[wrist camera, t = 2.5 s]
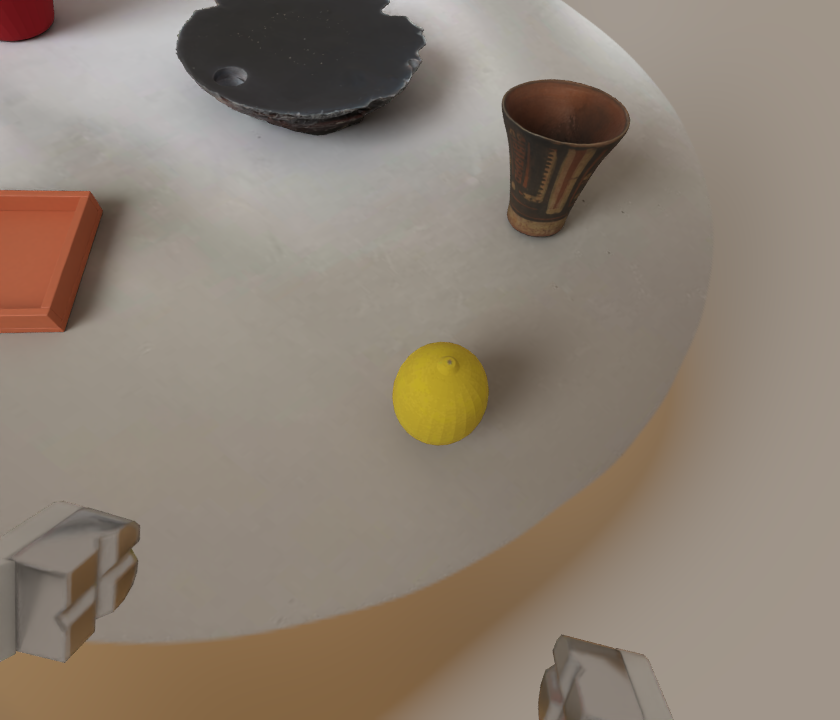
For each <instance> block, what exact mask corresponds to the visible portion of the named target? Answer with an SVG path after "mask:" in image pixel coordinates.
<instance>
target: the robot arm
mask: <svg viewBox="0 0 840 720" xmlns="http://www.w3.org/2000/svg"><path fill="white" fill-rule="evenodd" d="M139 541H140V525H139V524H138V523H136V522H135V521H133V520H129V519H126V518H122V517H119V516H116V515H112V514H109V513H105V512H102V511H98V510H95V509H92V508H88V507H87V508H86V507H83V506H79V505H76V504H73V503H69V502H66V501H59V502H54V503H52V504H51V505H49V506H47V507H46V508H44V509H43V510H41V511H40V512H38V513H37V514H35V515H33V516H32V517H30V518H29V519H27V520H26V521H24V522H23V523H21V524H19V525H18V526H16V527H15V528H13V529H12V530H10V531H9V532H7V533H5V534H4V535H2V536H1V537H0V662H1V661H3V660H5V659H7V658H8V657H10V656H12V655H14V654H15V653H16V651H19V652H23V653H27V654H31V655H35V656H39V657H43V658H48V659H52V660H56V661H60V662H64V663H65V662H66V661H67V660H68V659H69V658H70V657H71V656H72V655H73V654H74V653H75V652H76V650H78V648H79V647H80V646H81V645H82V644H83V643H84V642H85V641H86V640H87V639H88V638H89V637H90V636H91V635H92V634H93V633H94V632H95V620H96V619H98V618H100V617H103V616H105V615H108V614H110V613H112V612H114V610H115V609H116V608H117V607H118V606H119V605H120V604H121V603H122V602H123V600H124V599H125V597H126V596H127V594H128V592H129V590H130V589H131V587H132V585H133V583H134V580H135V577H136V573H137V567H138V559H137V557H136V556H135V554H134V552H133V550H132V549H131V548H132V547H133V546H134V545H135V544H136V543H137V542H139ZM553 655H554V661H555V664H554V665H553V666H551V667H550V668H548V669H546V671H545V674H544V676H543V680H542V682H541V687H540V694H539V702H538V704H539V705H538V706H539V708H538V710H539V720H673V717H672V715H671V712H670V710H669V708H668V705H667V703H666V700H665V698H664V695H663V693H662V691H661V688H660V686H659V683H658V681H657V679H656V676H655V674H654V671H653V669H652V667H651V664H650V662H649V660H648V659H647V658H646V657H645V656H644V655H643V654H639V653H635V652H630V651H626V650H622V649H618V648H616V649H614V648H612V647H608V646H604V645H600V644H596V643H592V642H589V641H584V640H581V639H577V638H573V637H569V636H565V635H561V636H560V637H559V638H558V639H557V641H556V644H555V646H554V649H553Z"/></svg>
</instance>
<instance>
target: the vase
mask: <svg viewBox="0 0 840 720" xmlns="http://www.w3.org/2000/svg"><path fill="white" fill-rule="evenodd" d="M53 21H54V6H53V0H0V40H2V41H17V40H24V39H28V38H32V37H35V36H37V35H39V34H42V33H43V32H45V31H46V30H47V29H48V28H49V27H50V26H51V25H52V23H53Z"/></svg>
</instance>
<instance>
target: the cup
mask: <svg viewBox="0 0 840 720" xmlns="http://www.w3.org/2000/svg"><path fill="white" fill-rule="evenodd" d="M502 113H503V119H504V123H505V128H506V132H507V137H508V143H509V153H510V203H509V207H508V211H507V217H508V220H509V222H510V224H511V225H512V226H513V228H515V229H516V230H517V231H519V232H521V233H524V234H526V235H530V236H550V235H553V234H556V233H557V232H559V231H560V230H561V229H562V227H563V226H564V224H565V221H566V218H567V216H568V214H569V212H570V210H571V208H572V206H573V205H574V203H575V201H576V200H577V198H578V196H579V195H580V193H581V191H582V190H583V188H584V186H585V185H586V183H587V182H588V180H589V179H590V177H591V176H592V174H593V173H594V171H595V170H596V168H597V167H598V165H599V164H600V163H601V161H602V160H603V159H604V158H605V157H606V156H607V155H608V154H609V153H610V151H611V150H612V149H613V148H614V147H615V146H616V145H617V144H618V143H619V142H620V140H621V139H622V138H623V136H624V135H625V134H626V132H627V131H628V128H629V125H630V117H629V114H628V111H627V110H626V108H625V107H624V106H623V105H622V103H621V102H619V101H618V100H617V99H616V98H614V97H612V96H611V95H609V94H607V93H606V92H604V91H602V90H600V89H597V88H594V87H592V86H588V85H585V84H581V83H577V82H572V81H566V80H555V79H549V80H548V79H547V80H537V81H530V82H526V83H523V84H520V85H518V86H515V87H513V88H511V89H510V90H509V91H507V92H506V94H505V95H504V97H503V99H502Z"/></svg>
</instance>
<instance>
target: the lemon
mask: <svg viewBox="0 0 840 720" xmlns="http://www.w3.org/2000/svg"><path fill="white" fill-rule="evenodd" d="M488 395H489V389H488V381H487V376H486V373H485V371H484V368H483V366H482V364H481V363H480V361H479V360H478V359H477V357H476V356H475V355H474V354H472V353H471V352H470V351H469V350H467V349H466V348H464V347H462V346H460V345H457V344H453V343H450V342H436V343H430V344H427V345H425V346H423V347H420V348H419V349H417V350H416V351H415V352H413V353H412V354H411V355H410V356H409V357H408V358H407V359H406V361H405V362H404V363H403V364H402V366H401V367H400V369H399V372H398V374H397V376H396V379H395V381H394V387H393V404H394V410H395V413H396V416H397V418H398V420H399V422H400V424H401V425H402V427H403V428H404V429H405V430H406V431H407V433H408V434H410V435H411V436H413V437H414V438H415V439H417V440H419V441H421V442H424V443H426V444H432V445H448V444H451V443H454V442H457V441H460V440H461V439H463V438H464V437H466V436H467V435H469V434H470V433H471V432H472V431H473V430H474V429H475V427H476V426H477V425H478V424H479V423H480V421H481V419H482V417H483V415H484V413H485V410H486V407H487V401H488Z"/></svg>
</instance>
